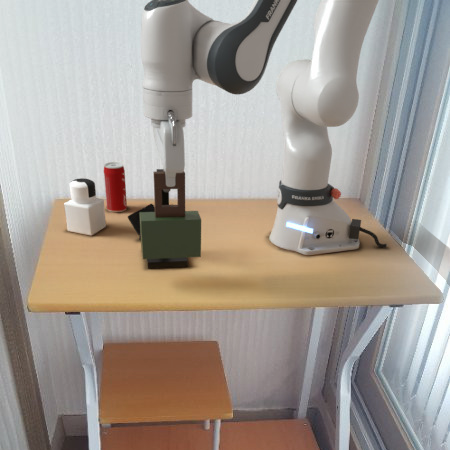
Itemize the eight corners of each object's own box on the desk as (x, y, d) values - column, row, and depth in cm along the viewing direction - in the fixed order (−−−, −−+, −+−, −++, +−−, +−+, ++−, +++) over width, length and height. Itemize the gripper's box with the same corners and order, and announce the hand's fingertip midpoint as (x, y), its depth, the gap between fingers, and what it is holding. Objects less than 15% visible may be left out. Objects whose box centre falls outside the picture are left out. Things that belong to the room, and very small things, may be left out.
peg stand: (182, 249, 140) (182, 167, 128) (188, 269, 131) (188, 183, 120) (144, 250, 138) (140, 167, 127) (148, 271, 130) (144, 183, 118)
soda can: (128, 212, 158) (125, 166, 151) (107, 213, 157) (103, 167, 150) (126, 205, 163) (123, 160, 155) (106, 206, 162) (102, 161, 154)
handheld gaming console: (168, 239, 140) (145, 201, 137) (146, 254, 143) (123, 217, 141) (185, 230, 150) (164, 194, 147) (164, 243, 153) (143, 209, 151)
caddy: (197, 247, 125) (198, 168, 115) (200, 257, 122) (201, 175, 112) (141, 249, 123) (137, 168, 113) (143, 259, 120) (138, 176, 110)
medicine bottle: (82, 222, 151) (77, 174, 144) (106, 226, 150) (102, 178, 142) (67, 231, 146) (60, 182, 139) (91, 236, 144) (86, 187, 137)
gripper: (193, 118, 98) (192, 200, 106) (178, 94, 114) (179, 168, 122) (155, 118, 97) (158, 201, 105) (146, 94, 113) (149, 168, 121)
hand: (169, 183), depth 114 cm, fingers closed on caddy
